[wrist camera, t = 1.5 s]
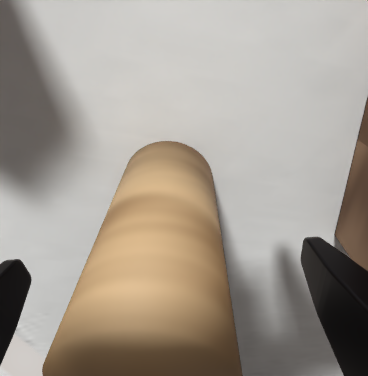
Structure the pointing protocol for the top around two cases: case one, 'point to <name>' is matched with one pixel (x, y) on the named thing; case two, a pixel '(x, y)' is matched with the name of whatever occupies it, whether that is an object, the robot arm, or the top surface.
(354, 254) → the socket block
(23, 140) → the top surface
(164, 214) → the peg
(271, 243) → the top surface
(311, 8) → the top surface
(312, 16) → the top surface
